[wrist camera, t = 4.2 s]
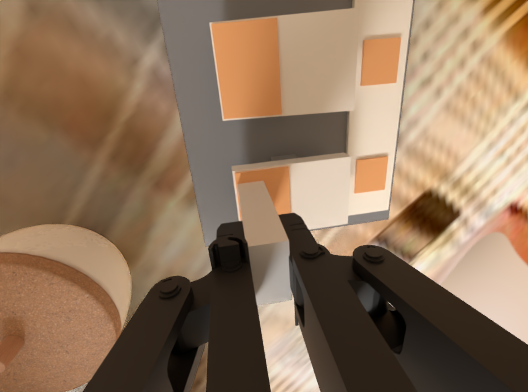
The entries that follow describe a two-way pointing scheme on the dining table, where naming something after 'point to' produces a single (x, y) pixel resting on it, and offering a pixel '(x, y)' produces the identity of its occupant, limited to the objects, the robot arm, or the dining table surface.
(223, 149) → the switch unit
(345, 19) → the switch
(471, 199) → the dining table surface
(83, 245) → the lidded jar
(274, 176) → the switch
